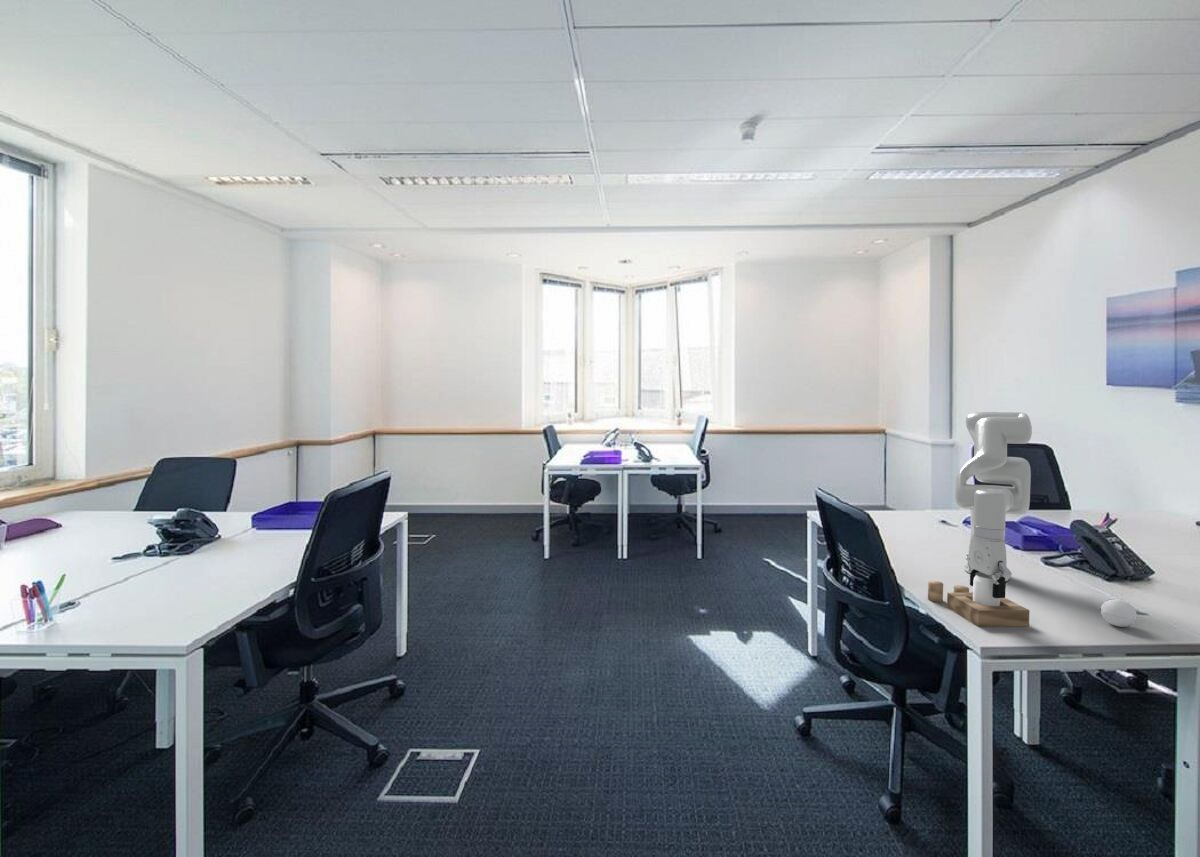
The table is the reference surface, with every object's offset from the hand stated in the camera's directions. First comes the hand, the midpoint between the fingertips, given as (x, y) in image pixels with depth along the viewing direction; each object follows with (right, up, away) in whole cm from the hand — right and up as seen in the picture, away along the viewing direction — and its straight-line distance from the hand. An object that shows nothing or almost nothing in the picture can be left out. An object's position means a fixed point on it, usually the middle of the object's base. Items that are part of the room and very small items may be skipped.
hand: (986, 591), depth 160 cm
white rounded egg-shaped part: (+30, -8, -7) cm, 32 cm away
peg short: (+1, -7, +13) cm, 15 cm away
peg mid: (-7, -7, +13) cm, 17 cm away
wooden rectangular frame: (0, -7, 0) cm, 7 cm away
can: (0, -7, +1) cm, 7 cm away
